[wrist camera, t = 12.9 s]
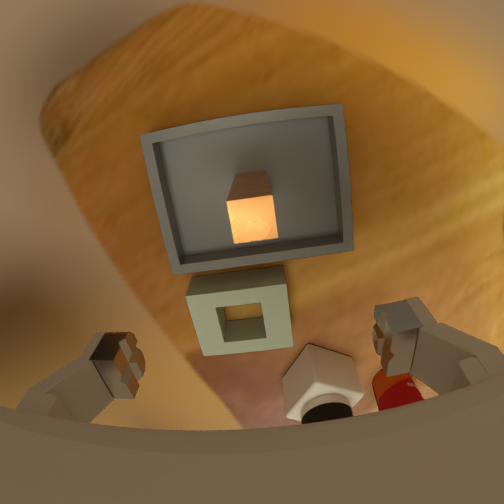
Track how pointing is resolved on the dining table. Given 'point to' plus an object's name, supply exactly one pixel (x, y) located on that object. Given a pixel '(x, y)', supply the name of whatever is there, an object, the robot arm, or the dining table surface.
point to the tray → (243, 161)
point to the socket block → (237, 293)
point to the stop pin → (251, 208)
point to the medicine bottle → (321, 386)
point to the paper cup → (394, 390)
